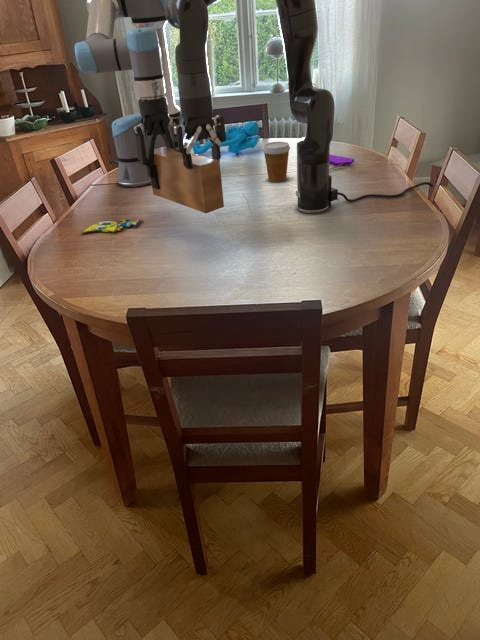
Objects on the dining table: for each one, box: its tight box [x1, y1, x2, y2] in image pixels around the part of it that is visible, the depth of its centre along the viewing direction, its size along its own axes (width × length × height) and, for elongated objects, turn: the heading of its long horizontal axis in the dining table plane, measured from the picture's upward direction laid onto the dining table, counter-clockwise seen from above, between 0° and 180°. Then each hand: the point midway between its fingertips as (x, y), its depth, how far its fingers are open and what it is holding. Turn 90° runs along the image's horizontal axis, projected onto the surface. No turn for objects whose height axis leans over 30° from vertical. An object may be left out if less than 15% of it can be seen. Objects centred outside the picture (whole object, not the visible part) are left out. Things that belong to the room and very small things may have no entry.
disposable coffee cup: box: [262, 141, 291, 183], centre depth 169 cm, size 10×10×12 cm
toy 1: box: [82, 218, 141, 235], centre depth 145 cm, size 10×1×15 cm
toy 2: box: [192, 120, 261, 155], centre depth 207 cm, size 17×11×30 cm
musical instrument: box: [329, 154, 355, 171], centre depth 185 cm, size 24×2×20 cm
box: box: [150, 147, 225, 214], centre depth 129 cm, size 25×6×12 cm, turn 41°
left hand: (166, 184), depth 137 cm, fingers closed on box, 6 cm apart
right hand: (203, 164), depth 120 cm, fingers open, 8 cm apart
